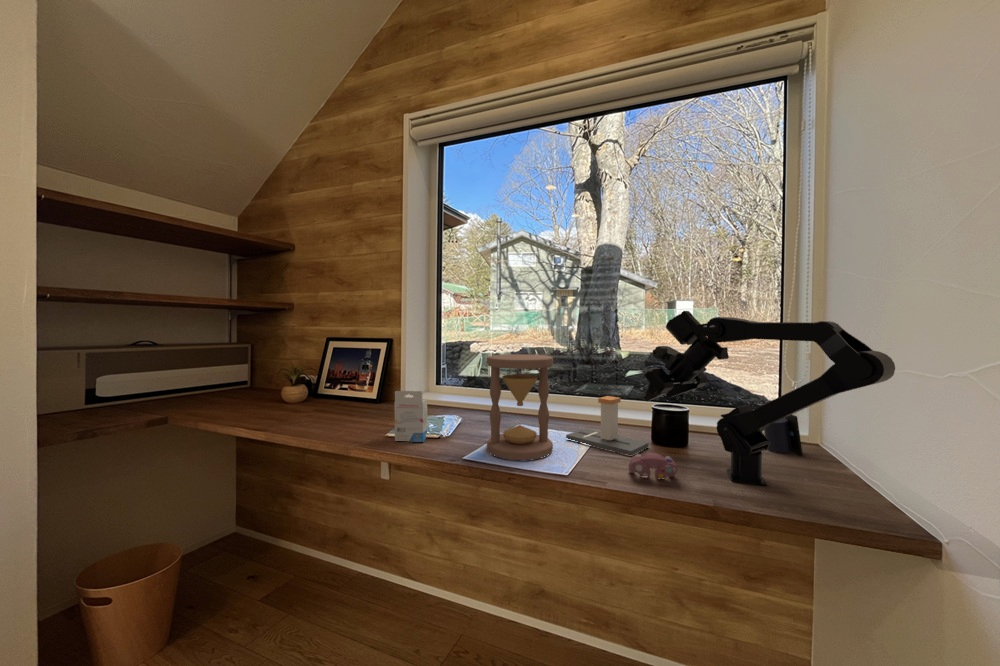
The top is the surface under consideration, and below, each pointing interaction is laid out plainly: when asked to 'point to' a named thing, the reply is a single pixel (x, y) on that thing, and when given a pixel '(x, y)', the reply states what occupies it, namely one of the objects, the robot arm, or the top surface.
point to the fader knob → (609, 417)
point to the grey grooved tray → (608, 441)
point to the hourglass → (519, 439)
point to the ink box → (410, 416)
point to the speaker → (784, 436)
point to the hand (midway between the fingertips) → (656, 398)
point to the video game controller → (653, 465)
